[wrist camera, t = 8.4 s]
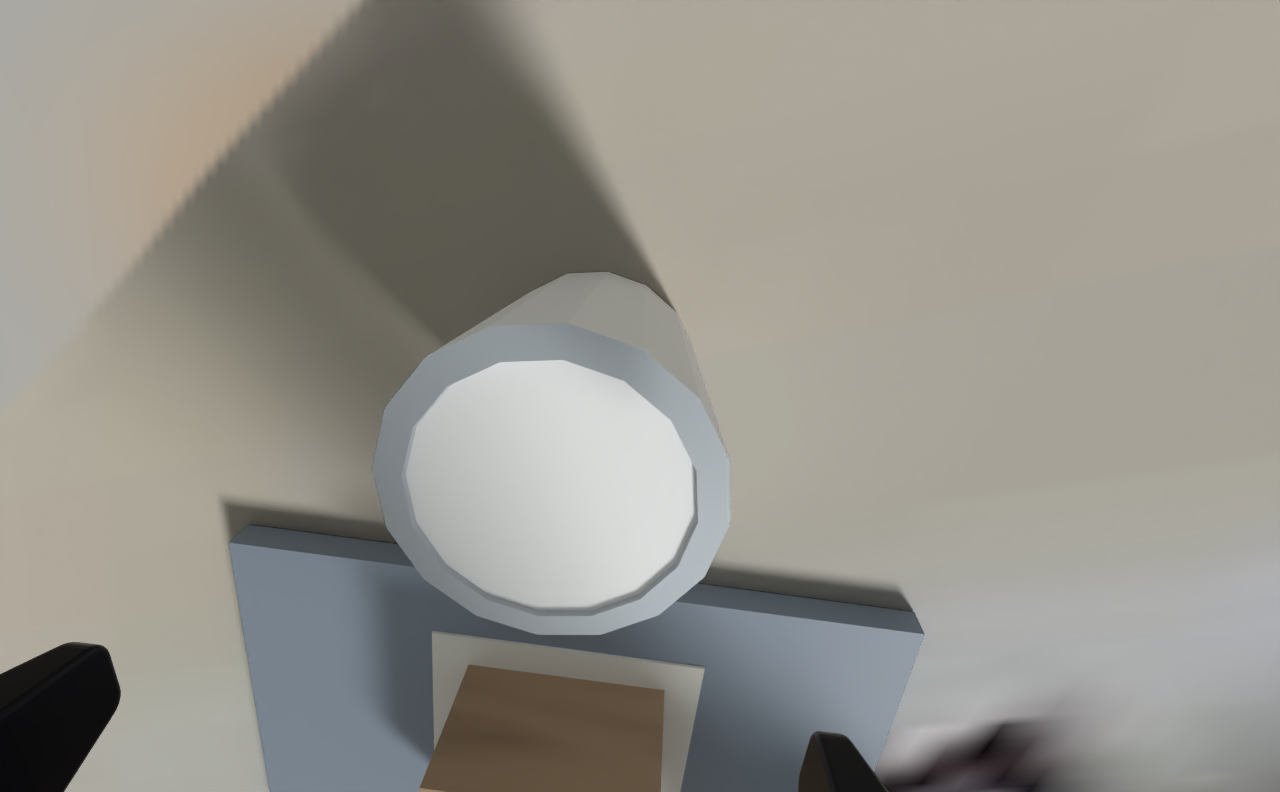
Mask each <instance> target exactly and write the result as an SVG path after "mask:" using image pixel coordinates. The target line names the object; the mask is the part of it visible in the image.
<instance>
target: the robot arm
mask: <svg viewBox="0 0 1280 792" xmlns="http://www.w3.org/2000/svg"><path fill="white" fill-rule="evenodd" d="M120 696H121V690H120V686H119V683H118V680H117V676H116V673H115V670H114V666H113V663H112V660H111V657H110V654H109V652H108V650H107V649H106V648H105V647H104V646H102V645H97V644H89V643H80V642H70V643H66V644H63V645H60V646H58V647H56V648H54V649H52V650H50V651H48V652H46V653H43V654H41V655H39V656H37V657H35V658H33V659H31V660H29V661H27V662H25V663H23V664H20V665H18V666H16V667H14V668H12V669H10V670H8V671H6V672H4V673H2V674H0V792H64V791H65V789H66V788H67V786H68V785H69V783H70V782H71V780H72V778H73V777H74V775H75V774H76V772H77V771H78V769H79V768H80V766H81V764H82V763H83V761H84V760H85V758H86V757H87V755H88V753H89V752H90V750H91V749H92V747H93V746H94V744H95V743H96V741H97V739H98V738H99V736H100V735H101V733H102V732H103V730H104V729H105V727H106V725H107V724H108V722H109V721H110V719H111V718H112V716H113V714H114V713H115V711H116V709H117V707H118V704H119V701H120ZM798 792H888V791H887V789H886V788H885V786H884V785H883V784H882V782H881V781H880V780H879V778H878V777H877V775H876V774H875V773H874V771H873V770H872V769H871V767H870V766H869V765H868V763H867V762H866V760H865V759H864V758H863V756H862V755H861V754H860V752H859V751H858V749H857V748H856V747H855V745H854V744H853V743H852V741H851V740H850V739H849V738H848V737H847V736H845V735H843V734H840V733H831V732H823V731H816V732H814V733H813V734H812V735H811V737H810V740H809V744H808V747H807V750H806V754H805V757H804V760H803V764H802V767H801V771H800V775H799V783H798Z"/></svg>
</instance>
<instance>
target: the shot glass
mask: <svg viewBox="0 0 1280 792" xmlns="http://www.w3.org/2000/svg"><path fill="white" fill-rule="evenodd" d="M372 471H373V475H374V479H375V483H376V487H377V491H378V495H379V499H380V503H381V507H382V512H383V516H384V520H385V524H386V528H387V529H388V531H389V532H390V533H391V535H392V536H393V538H394V539H395V540H396V542H397V543H398V545H399V546H400V547H401V549H402V550H403V551H404V553H405V554H406V556H407V557H408V558H409V560H410V561H411V562H412V564H413V565H414V567H415V568H416V569H417V571H418V572H419V573H420V575H421V576H422V578H423V579H424V580H426V581H427V582H429V583H430V584H431V585H433V586H434V587H436V588H437V589H439V590H440V591H441V592H443V593H444V594H446V595H447V596H449V597H450V598H452V599H453V600H454V601H456V602H457V603H459V604H460V605H462V606H463V607H464V608H466V609H467V610H469V611H470V612H472V613H473V614H474V615H476V616H479V617H482V618H485V619H488V620H492V621H495V622H498V623H501V624H504V625H508V626H511V627H514V628H517V629H520V630H524V631H527V632H530V633H533V634H536V635H602V634H605V633H608V632H611V631H613V630H616V629H619V628H622V627H625V626H628V625H631V624H634V623H637V622H640V621H643V620H646V619H649V618H652V617H655V616H658V615H660V614H661V613H662V612H663V611H664V610H666V609H667V608H668V607H669V606H670V605H672V604H673V603H674V602H675V601H676V600H678V599H679V598H680V597H681V596H682V595H684V594H685V593H686V592H687V591H688V590H690V589H691V588H692V587H693V586H694V585H696V584H697V583H698V582H699V581H700V580H702V579H703V578H704V577H705V575H706V573H707V571H708V569H709V567H710V565H711V563H712V561H713V559H714V557H715V555H716V552H717V550H718V548H719V546H720V544H721V542H722V540H723V538H724V536H725V534H726V532H727V530H728V528H729V526H730V459H729V456H728V453H727V450H726V447H725V444H724V441H723V438H722V435H721V432H720V429H719V425H718V422H717V419H716V416H715V413H714V410H713V407H712V404H711V401H710V398H709V395H708V392H707V389H706V386H705V383H704V380H703V377H702V374H701V370H700V367H699V364H698V361H697V358H696V355H695V352H694V349H693V346H692V344H691V342H690V340H689V338H688V336H687V334H686V332H685V329H684V327H683V325H682V323H681V321H680V319H679V317H678V315H677V313H676V311H674V310H673V309H672V308H671V307H670V306H669V305H668V304H667V303H665V302H664V301H663V300H662V299H661V298H660V297H659V296H658V295H657V294H655V293H654V292H653V291H652V290H651V289H650V288H649V287H648V286H647V285H644V284H641V283H638V282H635V281H633V280H630V279H627V278H624V277H621V276H619V275H616V274H613V273H610V272H589V273H568V274H565V275H563V276H561V277H559V278H557V279H555V280H553V281H551V282H549V283H547V284H545V285H543V286H541V287H539V288H536V289H534V290H532V291H531V292H529V293H528V294H526V295H524V296H523V297H521V298H519V299H518V300H516V301H515V302H513V303H511V304H510V305H508V306H507V307H505V308H503V309H502V310H500V311H499V312H497V313H495V314H494V315H492V316H490V317H489V318H487V319H486V320H484V321H482V322H481V323H479V324H478V325H476V326H474V327H473V328H471V329H470V330H468V331H466V332H465V333H463V334H461V335H460V336H458V337H457V338H455V339H453V340H452V341H450V342H449V343H447V344H445V345H444V346H442V347H441V348H439V349H437V350H436V351H434V352H432V353H431V354H429V355H428V356H426V357H425V358H424V359H423V360H422V362H421V363H420V364H419V365H418V367H417V368H416V369H415V370H414V372H413V373H412V374H411V375H410V377H409V378H408V379H407V380H406V382H405V383H404V384H403V385H402V387H401V388H400V389H399V390H398V392H397V393H396V394H395V395H394V397H393V398H392V399H391V400H390V402H389V403H388V404H387V405H386V407H385V408H384V412H383V417H382V422H381V427H380V431H379V436H378V441H377V446H376V451H375V456H374V461H373V465H372Z"/></svg>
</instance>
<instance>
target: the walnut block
mask: <svg viewBox="0 0 1280 792" xmlns="http://www.w3.org/2000/svg"><path fill="white" fill-rule="evenodd" d="M664 691H665V690H659V689H651V688H644V687H636V686H628V685H621V684H613V683H606V682H598V681H590V680H583V679H575V678H568V677H560V676H552V675H545V674H537V673H529V672H522V671H514V670H507V669H499V668H491V667H484V666H476V665H468V667H467V670H466V672H465V675H464V677H463V680H462V682H461V685H460V687H459V690H458V692H457V695H456V697H455V700H454V702H453V705H452V707H451V710H450V712H449V715H448V717H447V720H446V722H445V725H444V727H443V730H442V732H441V735H440V737H439V740H438V742H437V745H436V748H435V750H434V753H433V755H432V758H431V760H430V763H429V765H428V768H427V770H426V773H425V775H424V778H423V780H422V783H421V785H420V788H419V791H420V792H661V772H662V745H663V718H664Z"/></svg>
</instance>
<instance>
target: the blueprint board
mask: <svg viewBox="0 0 1280 792" xmlns="http://www.w3.org/2000/svg"><path fill="white" fill-rule="evenodd" d="M229 549H230V555H231V561H232V567H233V573H234V579H235V584H236V590H237V596H238V602H239V608H240V614H241V620H242V626H243V632H244V638H245V644H246V650H247V656H248V662H249V668H250V674H251V680H252V686H253V692H254V698H255V704H256V710H257V716H258V722H259V728H260V734H261V740H262V746H263V752H264V758H265V764H266V770H267V776H268V782H269V788H270V792H420V791H419V788H420V785H421V783H422V780H423V778H424V775H425V773H426V770H427V768H428V765H429V763H430V760H431V758H432V755H433V753H434V750H435V748H436V745H437V742H438V740H439V737H440V735H441V732H442V730H443V727H444V725H445V722H446V720H447V717H448V715H449V712H450V710H451V707H452V705H453V702H454V700H455V697H456V695H457V692H458V690H459V687H460V685H461V682H462V680H463V677H464V675H465V672H466V670H467V667H468V665H476V666H484V667H491V668H499V669H507V670H514V671H522V672H529V673H537V674H545V675H552V676H560V677H568V678H575V679H583V680H590V681H598V682H606V683H613V684H621V685H628V686H636V687H644V688H651V689H659V690H665V691H664V718H663V745H662V772H661V792H798V783H799V775H800V771H801V767H802V764H803V760H804V757H805V754H806V750H807V747H808V744H809V740H810V737H811V735H812V734H813V733H814V732H816V731H823V732H831V733H840V734H843V735H845V736H847V737H848V738H849V739H850V740H851V741H852V743H853V744H854V745H855V747H856V748H857V749H858V751H859V752H860V754H861V755H862V756H863V758H864V759H865V760H866V762H867V763H868V765H869V766H870V767H871V769H872V770H873V771H874V772H875V769H876V766H877V764H878V761H879V758H880V755H881V753H882V750H883V747H884V744H885V742H886V739H887V736H888V733H889V731H890V728H891V725H892V722H893V720H894V717H895V714H896V711H897V709H898V706H899V703H900V700H901V698H902V695H903V692H904V689H905V687H906V684H907V681H908V678H909V676H910V673H911V670H912V668H913V665H914V662H915V659H916V657H917V654H918V651H919V648H920V646H921V643H922V640H923V637H924V635H925V634H924V632H923V630H922V628H921V626H920V623H919V621H918V619H917V617H916V615H915V613H914V612H910V611H902V610H895V609H887V608H880V607H872V606H864V605H857V604H849V603H841V602H834V601H826V600H819V599H811V598H803V597H796V596H788V595H781V594H773V593H765V592H758V591H750V590H742V589H735V588H727V587H720V586H712V585H704V584H696V585H694V586H693V587H692V588H691V589H690V590H688V591H687V592H686V593H685V594H684V595H682V596H681V597H680V598H679V599H678V600H676V601H675V602H674V603H673V604H672V605H670V606H669V607H668V608H667V609H666V610H664V611H663V612H662V613H661V614H660V615H658V616H655V617H652V618H649V619H646V620H643V621H640V622H637V623H634V624H631V625H628V626H625V627H622V628H619V629H616V630H613V631H611V632H608V633H605V634H602V635H536V634H533V633H530V632H527V631H524V630H520V629H517V628H514V627H511V626H508V625H504V624H501V623H498V622H495V621H492V620H488V619H485V618H482V617H479V616H476V615H474V614H473V613H472V612H470V611H469V610H467V609H466V608H464V607H463V606H462V605H460V604H459V603H457V602H456V601H454V600H453V599H452V598H450V597H449V596H447V595H446V594H444V593H443V592H441V591H440V590H439V589H437V588H436V587H434V586H433V585H431V584H430V583H429V582H427V581H426V580H424V579H423V578H422V576H421V575H420V573H419V572H418V571H417V569H416V568H415V567H414V565H413V564H412V562H411V561H410V560H409V558H408V557H407V556H406V554H405V553H404V551H403V550H402V549H401V547H400V546H399V545H398V544H392V543H384V542H377V541H369V540H362V539H354V538H346V537H339V536H331V535H323V534H316V533H308V532H301V531H293V530H285V529H278V528H270V527H263V526H255V525H247V526H246V527H245V528H244V529H243V530H242V531H240V532H239V533H238V534H237V535H236V536H235V537H234V538H233V539H232V540H231V541H230V542H229Z"/></svg>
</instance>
